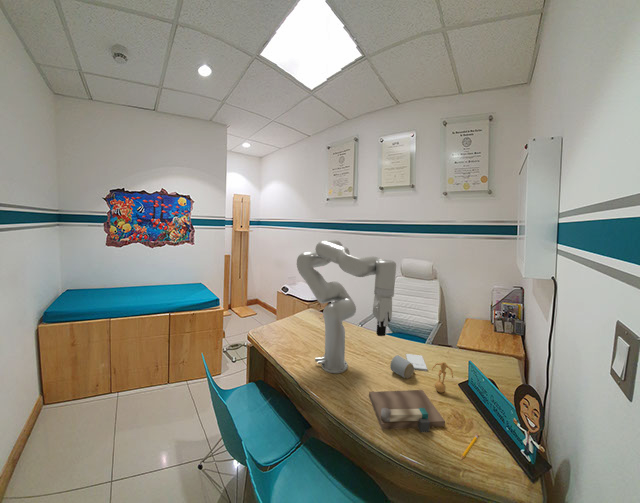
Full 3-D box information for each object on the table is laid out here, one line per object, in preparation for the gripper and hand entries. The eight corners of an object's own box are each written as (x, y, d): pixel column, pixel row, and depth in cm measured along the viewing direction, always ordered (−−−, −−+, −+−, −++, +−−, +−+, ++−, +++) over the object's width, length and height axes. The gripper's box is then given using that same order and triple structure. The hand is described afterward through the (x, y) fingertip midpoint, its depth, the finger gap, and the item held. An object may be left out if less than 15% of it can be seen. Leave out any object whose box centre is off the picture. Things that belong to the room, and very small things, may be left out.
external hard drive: (422, 358, 129) (427, 372, 117) (405, 356, 131) (409, 369, 118) (422, 355, 129) (427, 368, 117) (405, 353, 130) (409, 366, 118)
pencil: (478, 437, 81) (478, 435, 81) (462, 462, 72) (462, 459, 72) (476, 435, 82) (476, 433, 81) (459, 460, 73) (459, 458, 73)
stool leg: (382, 422, 83) (382, 414, 83) (379, 415, 87) (380, 407, 86) (428, 421, 84) (428, 413, 84) (423, 414, 87) (424, 406, 87)
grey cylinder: (405, 382, 108) (406, 365, 108) (389, 373, 115) (390, 357, 114) (418, 373, 115) (419, 358, 114) (402, 365, 121) (403, 350, 120)
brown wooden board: (381, 429, 83) (381, 424, 83) (368, 396, 99) (369, 391, 99) (444, 426, 85) (445, 421, 85) (422, 394, 101) (422, 389, 100)
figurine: (427, 389, 104) (429, 362, 103) (432, 382, 108) (434, 356, 107) (449, 398, 98) (451, 370, 97) (453, 391, 103) (455, 364, 101)
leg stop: (420, 432, 82) (421, 422, 82) (418, 428, 84) (418, 419, 83) (429, 432, 82) (429, 422, 82) (426, 428, 84) (427, 418, 84)
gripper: (369, 285, 105) (367, 326, 107) (380, 297, 90) (377, 344, 93) (387, 286, 105) (384, 327, 108) (400, 297, 91) (396, 344, 93)
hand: (380, 334), depth 100 cm, fingers closed
